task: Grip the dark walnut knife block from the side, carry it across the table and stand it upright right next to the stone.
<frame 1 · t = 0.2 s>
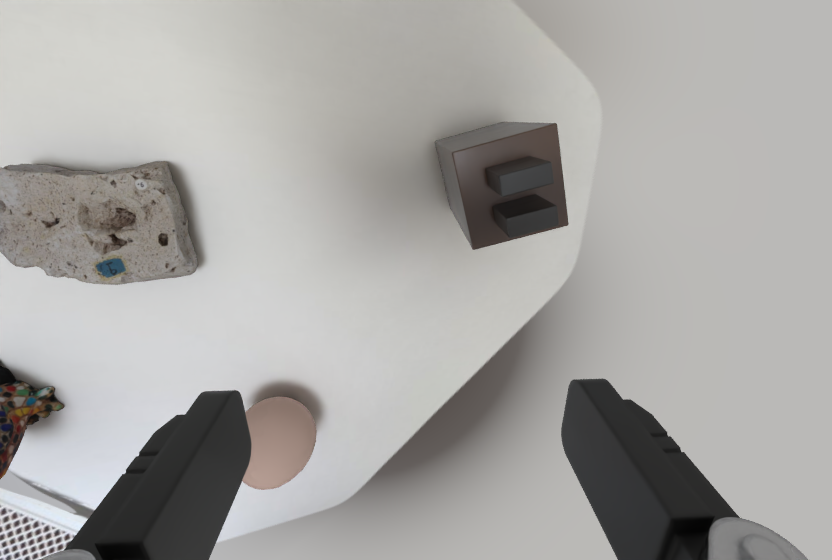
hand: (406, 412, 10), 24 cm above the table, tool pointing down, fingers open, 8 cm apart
egg: (287, 408, 39), on the table
stone: (121, 214, 31), on the table
figurine: (21, 393, 38), on the table
knife block: (476, 166, 31), on the table
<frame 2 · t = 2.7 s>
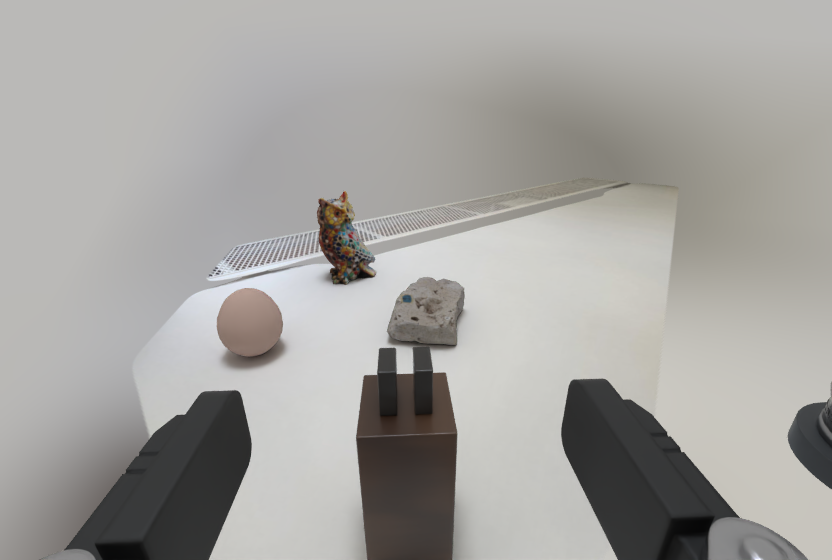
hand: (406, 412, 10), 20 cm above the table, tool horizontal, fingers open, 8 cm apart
egg: (256, 353, 48), on the table
stone: (430, 325, 54), on the table
figurine: (349, 277, 70), on the table
knife block: (409, 525, 28), on the table
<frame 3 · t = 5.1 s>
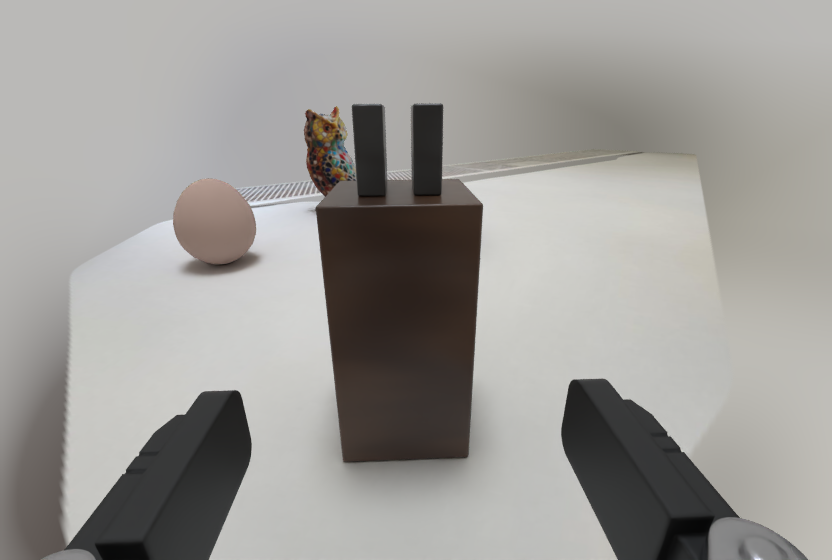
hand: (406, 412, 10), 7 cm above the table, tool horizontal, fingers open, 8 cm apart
egg: (224, 264, 40), on the table
figurine: (341, 211, 62), on the table
knife block: (405, 415, 19), on the table
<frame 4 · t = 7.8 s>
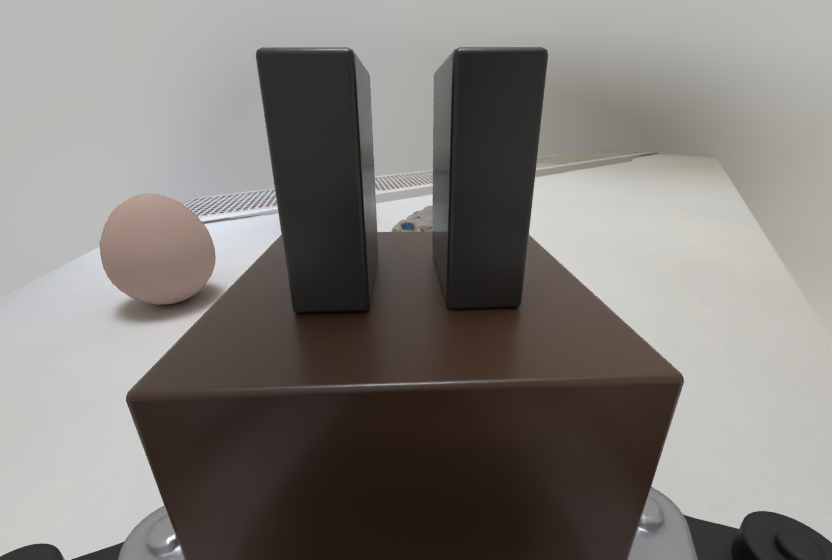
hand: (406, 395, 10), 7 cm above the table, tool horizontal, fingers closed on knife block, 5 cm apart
egg: (175, 302, 31), on the table
stone: (441, 271, 37), on the table
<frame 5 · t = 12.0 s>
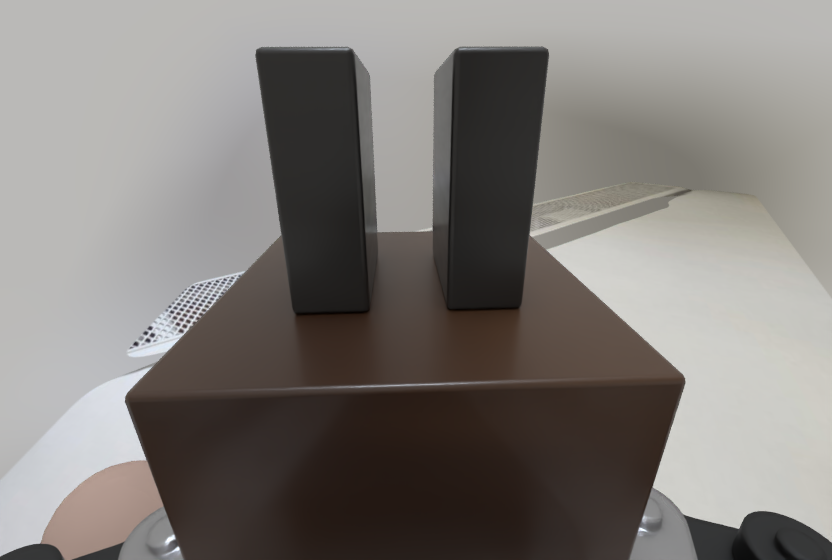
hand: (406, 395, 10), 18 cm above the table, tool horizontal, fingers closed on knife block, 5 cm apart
when the fingers open (7 cm above the table, at t = 16.2 s): knife block stays where it is, on the table.
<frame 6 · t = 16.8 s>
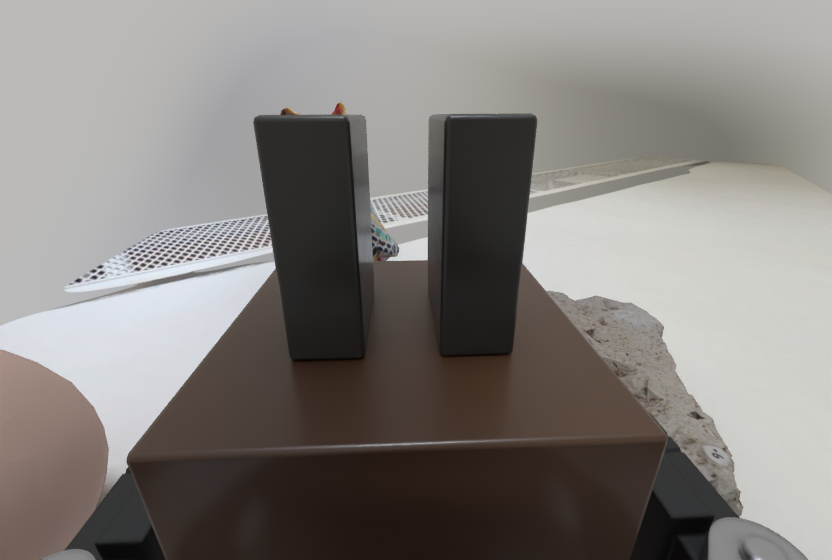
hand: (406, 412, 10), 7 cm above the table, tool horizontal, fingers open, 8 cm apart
stone: (576, 430, 19), on the table
figurine: (349, 286, 35), on the table
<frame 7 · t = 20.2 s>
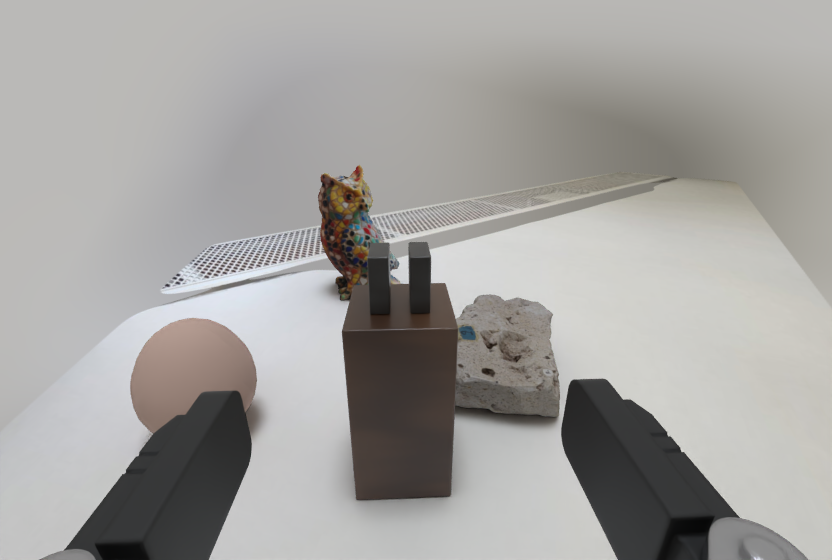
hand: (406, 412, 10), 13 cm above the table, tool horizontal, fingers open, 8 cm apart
egg: (210, 430, 27), on the table
stone: (500, 374, 33), on the table
figurine: (363, 290, 49), on the table
knife block: (403, 460, 25), on the table
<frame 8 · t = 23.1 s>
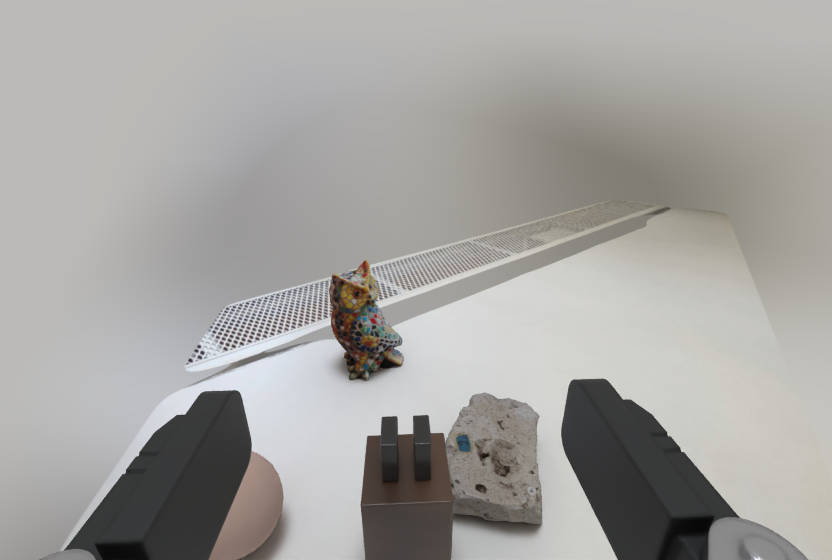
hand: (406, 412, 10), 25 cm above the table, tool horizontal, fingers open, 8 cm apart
egg: (244, 538, 32), on the table
stone: (492, 472, 38), on the table
figurine: (369, 366, 54), on the table
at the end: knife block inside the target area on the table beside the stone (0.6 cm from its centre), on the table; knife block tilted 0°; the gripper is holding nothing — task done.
